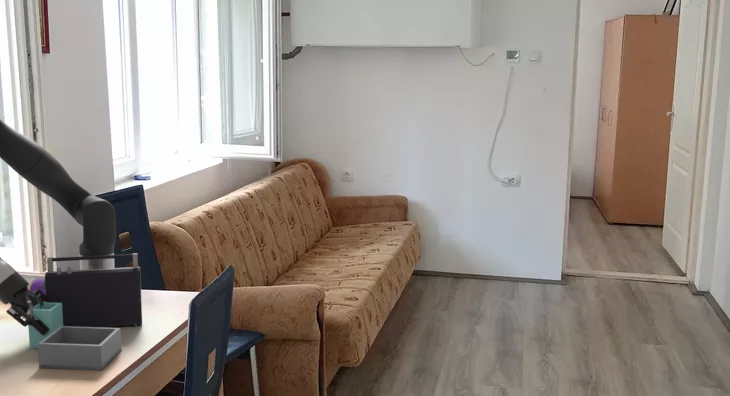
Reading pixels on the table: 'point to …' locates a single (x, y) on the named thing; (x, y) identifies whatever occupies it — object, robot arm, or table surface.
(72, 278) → the radio
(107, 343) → the big crate
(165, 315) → the table surface
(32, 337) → the box
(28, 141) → the robot arm
